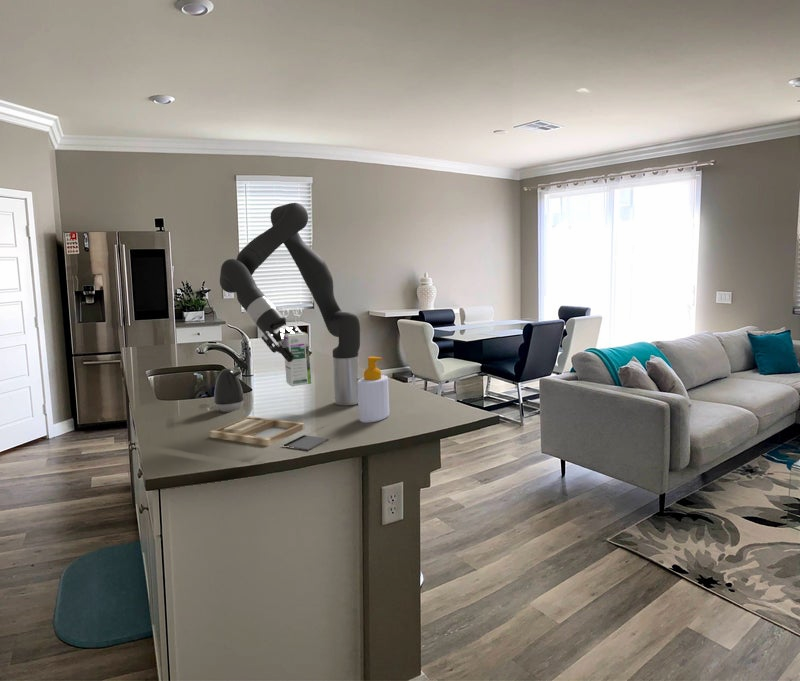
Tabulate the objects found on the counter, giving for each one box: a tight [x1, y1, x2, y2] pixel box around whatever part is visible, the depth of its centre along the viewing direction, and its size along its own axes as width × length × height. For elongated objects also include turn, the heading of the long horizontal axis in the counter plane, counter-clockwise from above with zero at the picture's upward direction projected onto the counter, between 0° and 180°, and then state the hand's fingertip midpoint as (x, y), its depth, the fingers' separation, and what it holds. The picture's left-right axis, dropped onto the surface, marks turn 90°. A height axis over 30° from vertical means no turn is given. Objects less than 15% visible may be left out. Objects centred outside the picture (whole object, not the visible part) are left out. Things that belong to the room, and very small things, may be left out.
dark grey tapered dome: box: [213, 368, 245, 413], centre depth 205 cm, size 10×10×15 cm
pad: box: [283, 434, 330, 452], centre depth 167 cm, size 10×10×1 cm
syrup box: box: [284, 331, 312, 387], centre depth 163 cm, size 6×6×14 cm
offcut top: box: [224, 419, 264, 434], centre depth 177 cm, size 6×11×2 cm, turn 158°
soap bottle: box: [357, 356, 390, 424], centre depth 189 cm, size 13×8×20 cm, turn 148°
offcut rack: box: [209, 416, 306, 447], centre depth 174 cm, size 22×17×3 cm
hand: (301, 357), depth 163 cm, fingers closed on syrup box, 7 cm apart
